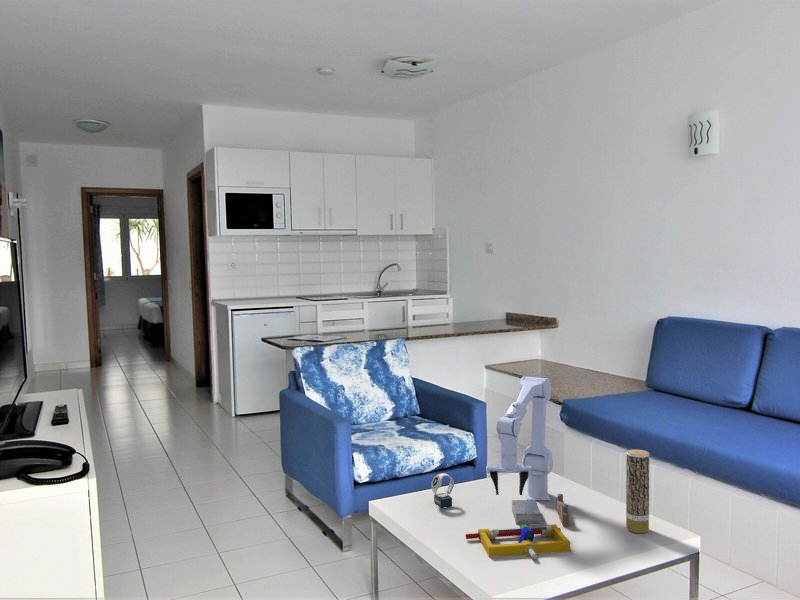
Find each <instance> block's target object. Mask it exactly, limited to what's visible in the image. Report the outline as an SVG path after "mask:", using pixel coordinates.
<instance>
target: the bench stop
mask: <svg viewBox="0 0 800 600" xmlns="http://www.w3.org/2000/svg"><path fill="white" fill-rule="evenodd" d="M556 496H557V497H555V506H556V507H555V509H556V512H557V514H558V518H559V520H560V523H561V525H562V527H563V528H567V527H568V528H569V527H570V514H569V508H568V505H567V504H565V501H564V495H563V493H557V495H556Z"/></svg>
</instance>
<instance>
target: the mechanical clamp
mask: <svg viewBox="0 0 800 600" xmlns="http://www.w3.org/2000/svg"><path fill="white" fill-rule="evenodd" d="M536 535H540V536H542V537H548V538H554V540H547V541H534V539H535V536H536ZM517 536H518V537H519V540H518V542H517V543H503V544H492V541H491V540H496V538H502V537H517ZM465 539H466V540H470V539H471V540H472V539H478V540H479V543H480V544H481V545H482V547H483V549H484V551H485V552H486V555H487V556H488V558H493V557H495V558H496V557H507V556H509V555H511V556H522V555H530V557H531V559H533V560H536V559H537V557H538V554H537V553H540V554H551V552H554V553H564V552H565V553H567V552H571V541H570V539H568V537H567V536H566V535H565V534H564V533H563V532H562V530H561V527H558V525H557V524H546V525H545V526H537V527H529V526H528V525H527V524H520V527H519V528H508V529H507V528H505V529H499V528H492V529H489V528H480V529H478V530H477V532H475V533H466V534H465Z"/></svg>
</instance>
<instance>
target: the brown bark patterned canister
mask: <svg viewBox="0 0 800 600" xmlns="http://www.w3.org/2000/svg"><path fill="white" fill-rule="evenodd" d="M625 465H626V466H625V467H626V468H625V469H626V472H625V473H626V480H625V481H626V482H625V483H626V484H625V485H626V486H625V487H626V488H625V489H626V490H625V493H626V498H625V503H626V504H625V506H626V507H625V511H626V512H625V513H626V514H625V515H626V516H625V517H626V518H625V520H626V521H625V522H626V523H625V527H626V529H627V530H628V531H629V532H631V533H634V534H646V533H648V531H649V527H650V452H649V451H647V450H643V449H634V448H633V449H628V450H626V463H625Z"/></svg>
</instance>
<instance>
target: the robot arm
mask: <svg viewBox="0 0 800 600" xmlns="http://www.w3.org/2000/svg"><path fill="white" fill-rule="evenodd" d="M551 398H552V382H551V380H550V378H549V377H545V378H544V377H536V376H535V377H534V376H526V375H523V376H522V377H521V378H520V382H519V394H518V397H517V399H516V401H514V402H512V403H511V404H510V405H509V406H508V409H507V411H506V412H505V414H504V416H501V417H499V418H498V419H497V423H496V433H497V438H498V440H499V464H494V465H486V474H489V475H490V479H491V480H492V483H493V485H494V489H495V495H496V496H499V476H498V474H499V473H500V474H501V473H504V474H505V473H511V474H512V473H514V474H516V473H517V474H518V473H519V475H518V476H519V486H518V487H519V488H518V493H519V496H523V492H524V493H525V496H526V500H536V501H551V497H550V495H549V492H548V491H549V490H548V489H549V488H548V487H549V485H548V481H549V480H548V478H549V477H548V475H549V474H551V472H552V470H553V465H554V464H553V463H554V461H553V453H552V451H551V450H550V449H548V447H547V446H546V445H545V442H546V441H545V440H546V438H545V437H546V419H547V418H546V416H547V415H546V414H547V401H550V400H551ZM530 402H532V407H531V408H532V411H531V430H530V431H531V432H530V445H529V446H527V447H526V448H525V449H524V450H523V456H522V460H521V464H519V463H518V462H519V461H518V459H519V458H518V436H519V434H520V432H521V426H522V421H523V420H524V418H525V416H526V414H527V408H526V407H527V406H528V405H529V403H530ZM526 483H527V484H526ZM525 484H526V485H527V487H526V489H524V487H525V486H526V485H525Z"/></svg>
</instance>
